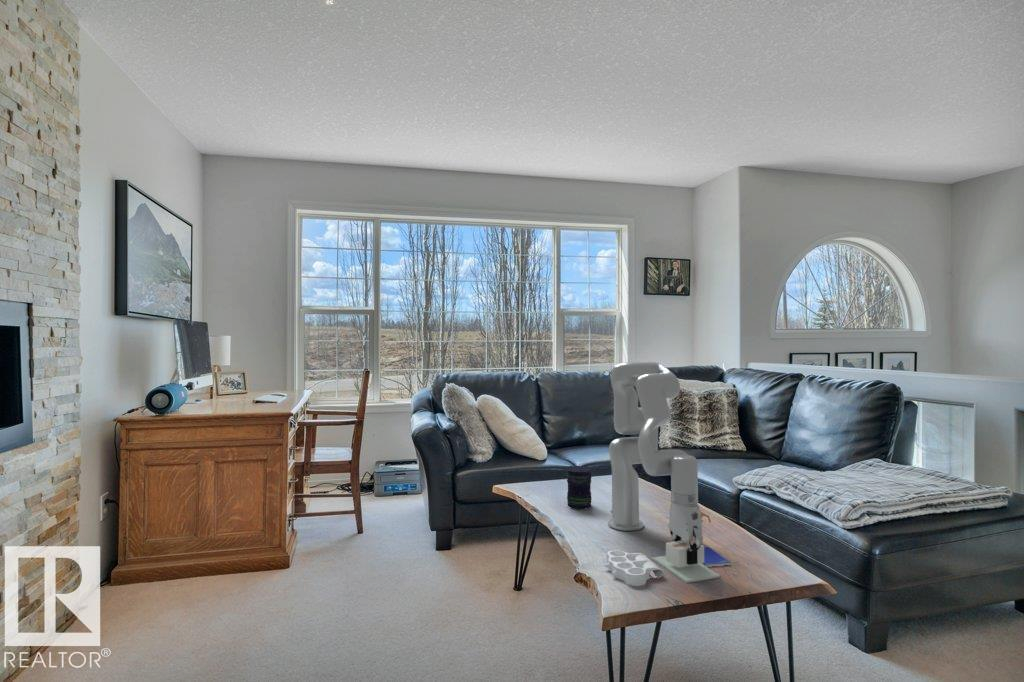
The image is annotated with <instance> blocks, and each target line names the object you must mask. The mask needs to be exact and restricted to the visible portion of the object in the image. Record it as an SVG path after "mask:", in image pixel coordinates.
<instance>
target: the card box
mask: <svg viewBox="0 0 1024 682" xmlns="http://www.w3.org/2000/svg"><path fill="white" fill-rule="evenodd" d="M693 544H694V543H693V541H691V546H692V545H693ZM704 547H705V545H704V544H702V545H701V546H700V548H699V550H697V564H700V563H704ZM687 550H688V546H687V542H686V540H685V539H682V540H680V541H670V542H665V556H666V560H667V561H669V562H670V563H672V564H674V565H676V566H677V567H679V568H680V567H685V566H690V565H688V564H687ZM691 565H695V564H691Z"/></svg>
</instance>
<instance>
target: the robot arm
mask: <svg viewBox="0 0 1024 682" xmlns="http://www.w3.org/2000/svg"><path fill="white" fill-rule="evenodd" d="M610 384H611V388H612V391H613V392H612V393H613V428H614V430H615V432H616V433H618V434H621V435H638V436H634V437H633V436H630V437H629V436H628V437H618V438H615V439H613V440H612V441H611V442H610V443H609V447H608V454H609V459H610V467H611V509H610V511H609V512H610V514H611V518H610V519H608V520H607V525H608V527H610V528H612V529H614V530H618V531H624V532H625V531H627V532H629V531H631V532H632V531H633V532H634V531H638V530H642V529H643V528H644V527H645V526H644V521H642V520H641V519H640V489H639V488H640V482H639V481H640V479H639V475H638V472H637V471H636V470H635V468H634V467H633V465H637V464H638V465H639V464H641V465H642V468H643V470H644V472H645V473H646V474H647V475H649V476H651V477H661V476H662V477H663V476H670V506H669V507H670V508H669V523H668V524H667V527H668V529H669V531H670V532H669V533H670V536H671V542H674V541H680V540H686V542H687V546H688V550H687V564H688V565H691V564H697V550H699V548H700V546H701V545H704V541H703V540H704V539H703V540H702V536H703V523H702V521H703V520H702V519H701V512H702V511H701V508H700V505H699V487H698V486H699V473H698V472H699V471H698V470H699V468H698V467H699V466H698V465H699V464H698V460H697V458H696V457H695V456H694V455H691V454H688V453H686V452H685V451H684V450H681V449H663V450H662V449H660V450H658V449H659V445H658V444H659V428H660V427H662V426H664V425H665V424H667V423H669V422H670V420H671V419H672V413H671V410H670V406H669V404H668V399H676V397H677V396H679V394H680V391H681V386H680V381H679V379H678V377H677V375H675V374H674V372H672V371H671V370H669V368H667V367H666V366H664V365H663V364H661V363H659V362H656V361H655V362H654V361H647V362H646V361H644V362H643V361H641V362H639V361H638V362H636V361H629V362H628V361H627V362H620V363H617V364H616V365H614V366H613V367H612V370H611V373H610ZM634 387H635V388H634ZM639 404H640V407H639ZM700 511H701V512H700ZM691 537H693V539H691ZM691 541H693V543H694V544H693V545H692V546H691Z"/></svg>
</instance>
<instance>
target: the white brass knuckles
mask: <svg viewBox="0 0 1024 682" xmlns="http://www.w3.org/2000/svg"><path fill="white" fill-rule="evenodd" d="M603 566H604V567H605V568H607V569H608V572H609V571H611V572H612V573H611V572H610V573H611V575H613V577H614V576H615V577H614V578H616V579H617V578H618V580H622V581H623V582H625V584H626V585H628V586H631V585H632V586H633V587H641V585H642V586H644V585H646V584H647V580H651V579H650V578H653V580H655V579H654V577H652V576H651V575H650V572H651V571H653V572H654V574H655V576H657V577H656V578H657V579H660V578H662V577H663V576H664V573H665V572H664V570H663V568H660V567H659V566H658V565H657V564H656V562H654V561H652V560H651V559H649V558H648V556H647V555H645V554H644V553H642V552H631V553H629V552H626V551H623V550H615V549H614V550H609V551H608V552H607V553H606V563H605V564H603Z"/></svg>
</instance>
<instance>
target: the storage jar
mask: <svg viewBox="0 0 1024 682" xmlns="http://www.w3.org/2000/svg"><path fill="white" fill-rule="evenodd" d="M566 471H567V472H566V481H567V492H566V493H567V495H566V500H567V501H566V502H567V504H566V505H568V506H569V507H571V508H570V509H572V508H575V509H574V510H586V509H585V508H588V509H590V508H591V507H592V492H591V485H592V469H591V468H590V467H588V466H582V465H581V466H580V465H579V466H578V465H577V466H570V467H567V468H566ZM568 506H567V507H568ZM569 507H568V508H569ZM589 507H590V508H589Z"/></svg>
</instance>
